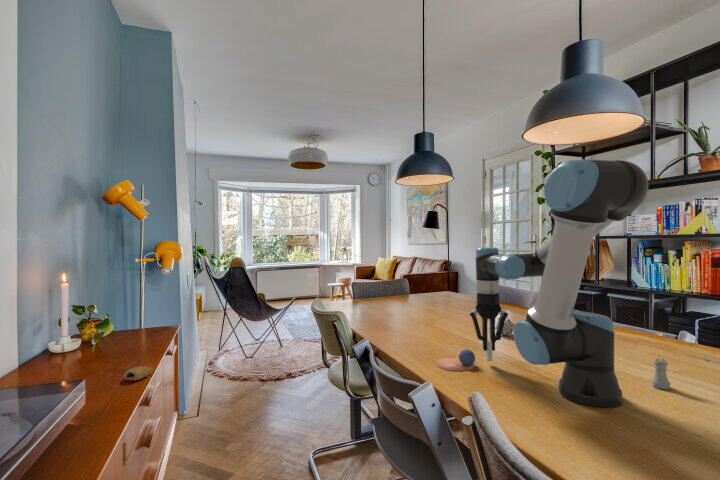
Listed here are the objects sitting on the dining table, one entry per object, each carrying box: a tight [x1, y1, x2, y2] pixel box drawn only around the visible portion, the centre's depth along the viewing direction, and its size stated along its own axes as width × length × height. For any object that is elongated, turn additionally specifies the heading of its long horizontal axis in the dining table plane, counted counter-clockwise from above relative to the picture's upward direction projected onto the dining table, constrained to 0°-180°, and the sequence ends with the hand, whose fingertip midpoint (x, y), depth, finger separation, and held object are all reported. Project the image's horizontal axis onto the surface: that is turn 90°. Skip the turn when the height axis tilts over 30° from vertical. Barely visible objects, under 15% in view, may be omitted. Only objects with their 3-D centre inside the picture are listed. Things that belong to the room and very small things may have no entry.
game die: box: [495, 316, 515, 337], centre depth 165 cm, size 9×8×10 cm
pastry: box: [123, 365, 155, 378], centre depth 125 cm, size 9×7×4 cm
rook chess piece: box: [651, 357, 671, 390], centre depth 107 cm, size 4×4×8 cm
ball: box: [458, 348, 476, 366], centre depth 129 cm, size 6×6×6 cm
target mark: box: [436, 357, 476, 372], centre depth 130 cm, size 13×13×1 cm
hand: (489, 359), depth 128 cm, fingers closed
